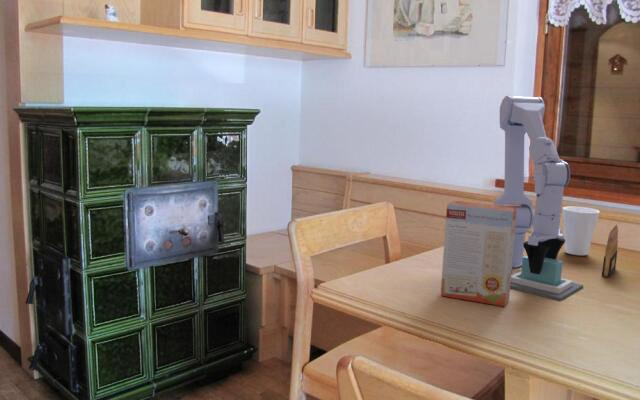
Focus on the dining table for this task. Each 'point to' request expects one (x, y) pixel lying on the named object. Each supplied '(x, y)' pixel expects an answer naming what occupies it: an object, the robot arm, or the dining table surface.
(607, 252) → the ammunition clip
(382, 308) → the dining table surface
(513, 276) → the grey square tray
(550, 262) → the light blue rectangular block
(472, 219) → the cracker box
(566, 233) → the cup
